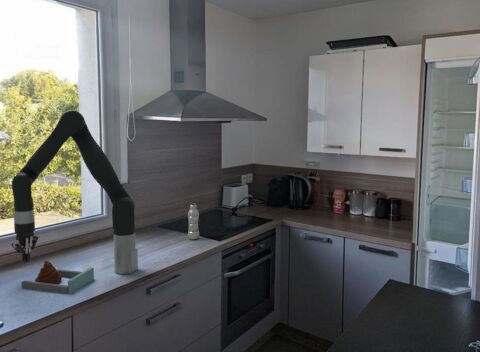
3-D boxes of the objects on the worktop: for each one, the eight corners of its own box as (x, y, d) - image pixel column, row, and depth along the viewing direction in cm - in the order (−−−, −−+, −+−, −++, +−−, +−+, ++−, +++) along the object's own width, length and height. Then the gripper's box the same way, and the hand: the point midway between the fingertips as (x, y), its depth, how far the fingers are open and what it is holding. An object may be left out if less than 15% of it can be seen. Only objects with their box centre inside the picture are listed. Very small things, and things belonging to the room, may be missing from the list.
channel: (94, 278, 174) (94, 267, 174) (70, 293, 159) (70, 281, 158) (49, 273, 180) (48, 262, 179) (21, 287, 164) (21, 275, 164)
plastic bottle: (188, 241, 230) (188, 206, 228) (187, 237, 237) (186, 203, 234) (200, 240, 232) (200, 205, 229) (198, 237, 238) (197, 203, 236)
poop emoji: (31, 286, 166) (30, 264, 165) (40, 278, 174) (39, 257, 173) (57, 286, 166) (56, 264, 165) (64, 278, 175) (63, 257, 174)
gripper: (20, 225, 162) (22, 267, 165) (43, 218, 175) (45, 257, 177) (4, 223, 164) (6, 265, 166) (28, 216, 177) (30, 255, 179)
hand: (26, 261), depth 172 cm, fingers closed
